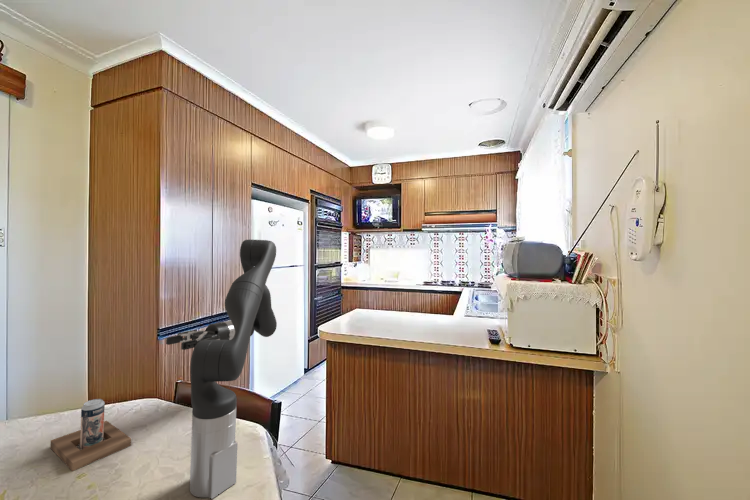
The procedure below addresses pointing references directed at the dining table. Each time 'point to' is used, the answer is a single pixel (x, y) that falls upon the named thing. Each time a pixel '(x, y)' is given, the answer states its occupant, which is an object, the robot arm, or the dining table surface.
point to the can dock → (79, 458)
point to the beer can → (92, 423)
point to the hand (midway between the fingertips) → (174, 343)
